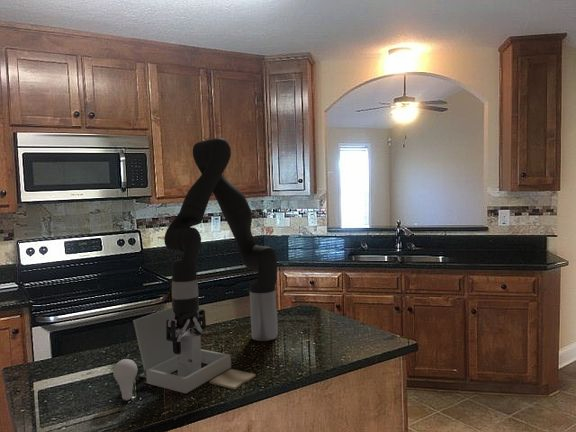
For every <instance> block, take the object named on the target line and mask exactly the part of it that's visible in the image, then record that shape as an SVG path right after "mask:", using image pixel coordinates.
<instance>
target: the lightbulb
mask: <svg viewBox="0 0 576 432" xmlns="http://www.w3.org/2000/svg"><path fill="white" fill-rule="evenodd" d="M112 374H113V378H114V379H115V381H116V382H117V383H118V386H119V389H120V393H121V398H122V400H124V401H129V400H130V399H132V397H133V389H134V381H135V380H136V378H137V374H138V365H137V364H136V362H135V361H134V360H133V359H129V358H124V359H120V360H119V361H118V362H117V363H116V364H115V365H114V367H113V371H112Z"/></svg>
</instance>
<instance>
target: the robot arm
mask: <svg viewBox="0 0 576 432" xmlns="http://www.w3.org/2000/svg"><path fill="white" fill-rule="evenodd" d="M231 155H232V151H231V147H230V144H229V143H228V141H227V140H226V139H225V138H222V137H214V138H210V139H206V140H202V141H201V140H200V141H198V142H196V143H195V144H194V145H193V147H192V157H193V160H194V163H195V165H196V167H197V168H198V170H199V171H200V176H199V177H198V178H197V180H196V181H195V183H193V184H192V186H191V187H190V188H189V189H188V191H187V193H186V195H185V197H184V199H183V202H182V205H181V207H180V211H179V212H178V213H177V214H176V216H175V217H174V219H173V221H172V222H171V223H170V225H169V226H168V227H167V228H166V230H165V233H164V238H163V239H164V241H163V242H164V246H165V247H166V249H168V250H169V251H172V252H183V256H182V258H180V259H175V260H174V261H172V263H171V279H172V280H171V281H172V282H171V283H172V284H171V301H172V307H173V312H174V313H175V318H174V319H173V320H167V321H166V340H168V341H172V342H173V352H174V354H178V355H179V354H181V341H180V339H181V337H182V335H183V334H184V333H185V331H187V330H188V329H189V330H192V331H193V334H197V335H201V336H202V332H203V330H205V329H207V321H206V311H205V309H200V305H199V304H200V303H199V286H198V280H197V279H198V278H197V273H198V272H197V264H198V263H197V262H198V258H199V254H200V249H201V245H202V236H201V234H200V232H199V230H198V229H197V228H195V226H198V225H200V224H201V223H202V221H203V219H204V216H205V212H206V210H207V208H208V204H209V201H210V199H211V196H212V194H213V196H214V198H215V199H216V202H217V204H218V206H219V208H220V211H221V213H222V215H223V217H224V218H225V221H226V222H227V225H228V226H229V229H230V231H231V233H232V235H233V237H234V240H235V243H236V245H237V248H238V250H239V254H240V256H241V259H242V262H243V264H244V266H245V267H246V269H248V270H250V271H253V272H257V278H256V280H253V281H251V282H250V283H249V288H248V289H249V302H250V303H249V306H250V307H249V308H250V325H251V326H250V329H251V339H252V340H254V341H257V342H258V341H259V342H268V341H271V340H275V339H277V338H278V335H279V329H278V328H279V323H278V322H279V321H278V320H279V318H278V309H277V301H276V298H277V296H276V285H277V280H278V259H277V258H278V257H277V253H276V250H275V249H274V248H272V247H271V246H265V245H258V244H257V242H256V240H255V238H254V236H253V233H252V220H253V213H252V210H251V207H250V205H249V202H248V201H247V198H246V196H245V195H244V193H243V192H242V191H241V190H240V189H239V188H238V187H236V186H235V185H234V184H232V182H231V181H229V180H228V179H227V178H226V177H225V176H224V175H223V173H224V171H225V170H226V168H227V166H228V165H229V162H230V160H231ZM178 328H179V329H180V330H178ZM177 334H178V336H177ZM176 336H177V337H176ZM201 342H202V339H201Z"/></svg>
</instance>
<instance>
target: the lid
mask: <svg viewBox="0 0 576 432" xmlns="http://www.w3.org/2000/svg"><path fill="white" fill-rule="evenodd" d="M174 318H175V313H174V312H173V306H171V307H168V308H165V309H163V310H160V311H157V312H154V313H150V314H148V315H146V316H145V315H144V316H142V317H139V318H136V319H133V320H132V322H133V327H134V331H135V335H136V339H137V344H138V345H137V346H138V349H139V353H140V357H141V361H142V368H143V371H144V370H146V369H149V368H151V367H153V366H155V365H157V364H159V363H161V362H164V361H166V360H168V359H170V358H172V357H174V356H177V354H174V352H173V342H172V341H168V340H166V321H167V320H173V319H174ZM178 330H180V329H179V328H178ZM190 330H191V329H188V330H187V331H185V332H186V333H191V331H190ZM177 336H178V334H177ZM177 336H176V337H177Z"/></svg>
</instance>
